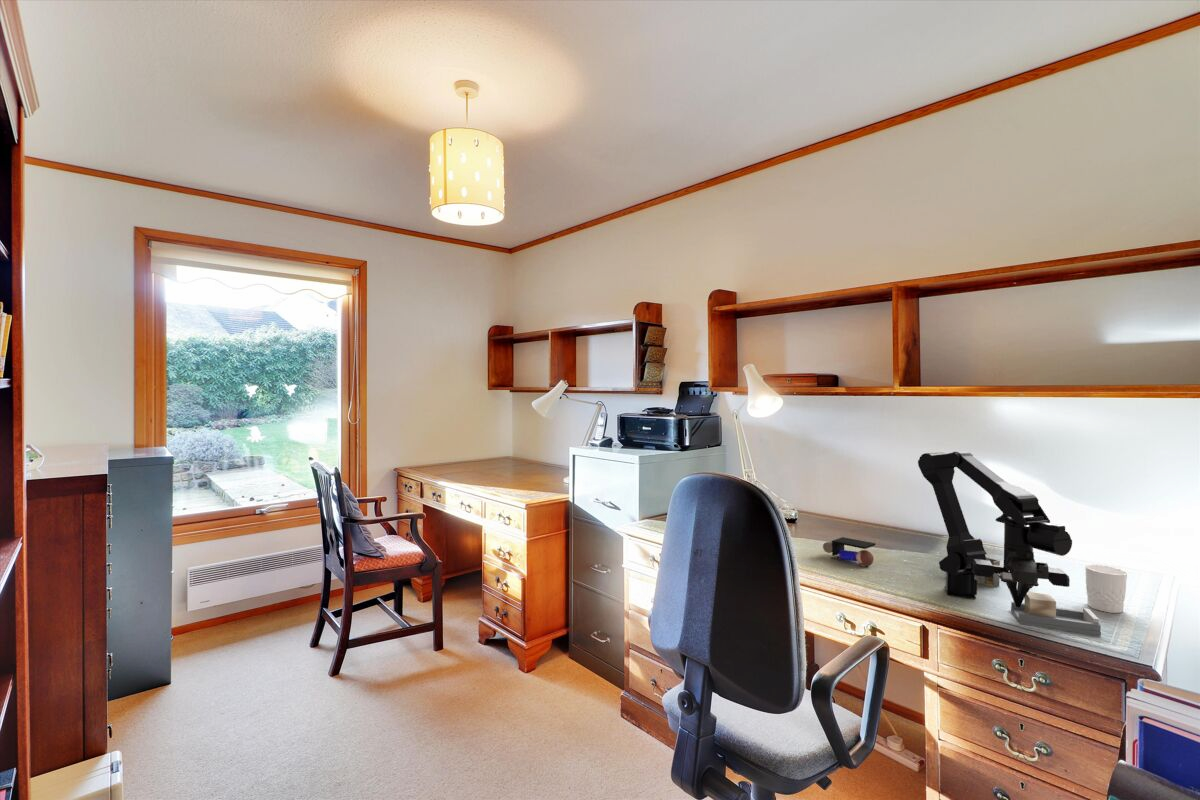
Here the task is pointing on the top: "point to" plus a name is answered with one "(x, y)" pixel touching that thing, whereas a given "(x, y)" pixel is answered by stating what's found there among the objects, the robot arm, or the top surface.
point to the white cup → (1105, 588)
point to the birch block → (1039, 604)
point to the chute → (1061, 620)
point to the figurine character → (838, 549)
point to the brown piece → (992, 580)
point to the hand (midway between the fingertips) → (1017, 606)
